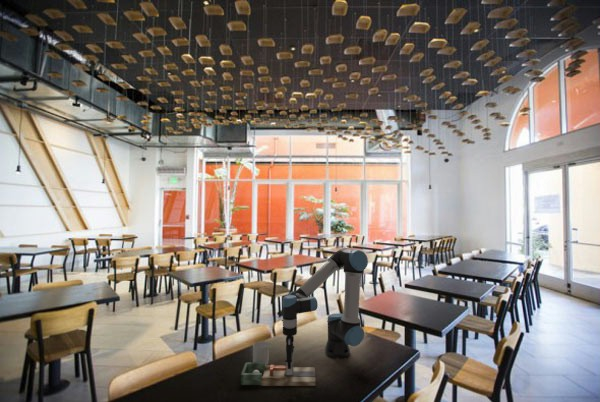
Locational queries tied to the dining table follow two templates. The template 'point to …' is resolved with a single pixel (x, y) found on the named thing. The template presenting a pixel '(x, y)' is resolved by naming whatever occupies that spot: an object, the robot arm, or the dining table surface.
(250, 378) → the lane
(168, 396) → the dining table surface
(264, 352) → the mug
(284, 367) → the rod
